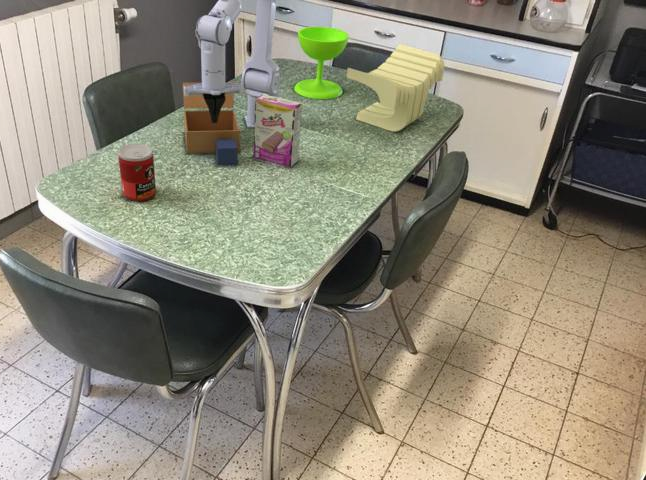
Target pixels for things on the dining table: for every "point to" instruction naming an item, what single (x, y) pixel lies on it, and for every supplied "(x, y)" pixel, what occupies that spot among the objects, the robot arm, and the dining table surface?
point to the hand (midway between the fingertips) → (214, 121)
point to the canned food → (137, 171)
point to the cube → (226, 152)
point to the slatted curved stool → (400, 87)
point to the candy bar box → (277, 129)
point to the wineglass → (321, 59)
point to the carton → (209, 130)
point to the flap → (199, 101)
